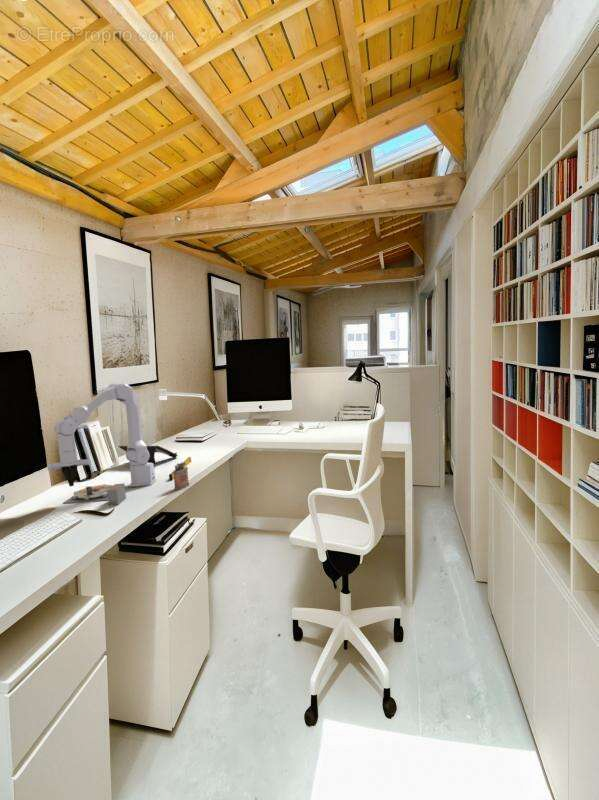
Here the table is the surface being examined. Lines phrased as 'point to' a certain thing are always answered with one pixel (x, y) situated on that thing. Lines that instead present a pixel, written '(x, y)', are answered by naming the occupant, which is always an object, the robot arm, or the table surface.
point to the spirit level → (187, 461)
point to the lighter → (181, 476)
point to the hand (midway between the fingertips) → (71, 485)
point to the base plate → (86, 500)
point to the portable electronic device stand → (152, 451)
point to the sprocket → (92, 492)
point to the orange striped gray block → (116, 494)
